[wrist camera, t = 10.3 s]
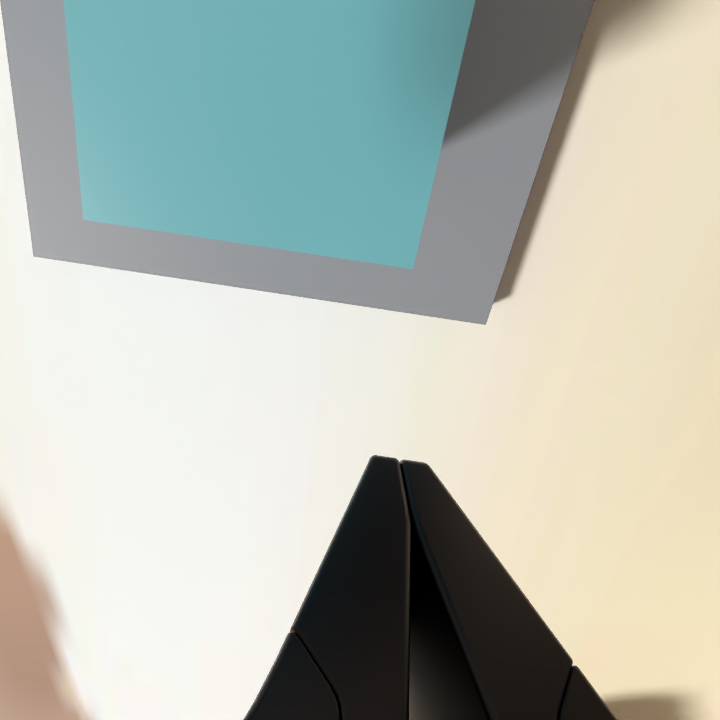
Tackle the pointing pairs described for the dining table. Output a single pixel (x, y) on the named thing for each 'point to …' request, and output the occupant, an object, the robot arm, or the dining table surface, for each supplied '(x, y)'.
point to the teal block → (266, 118)
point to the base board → (309, 271)
